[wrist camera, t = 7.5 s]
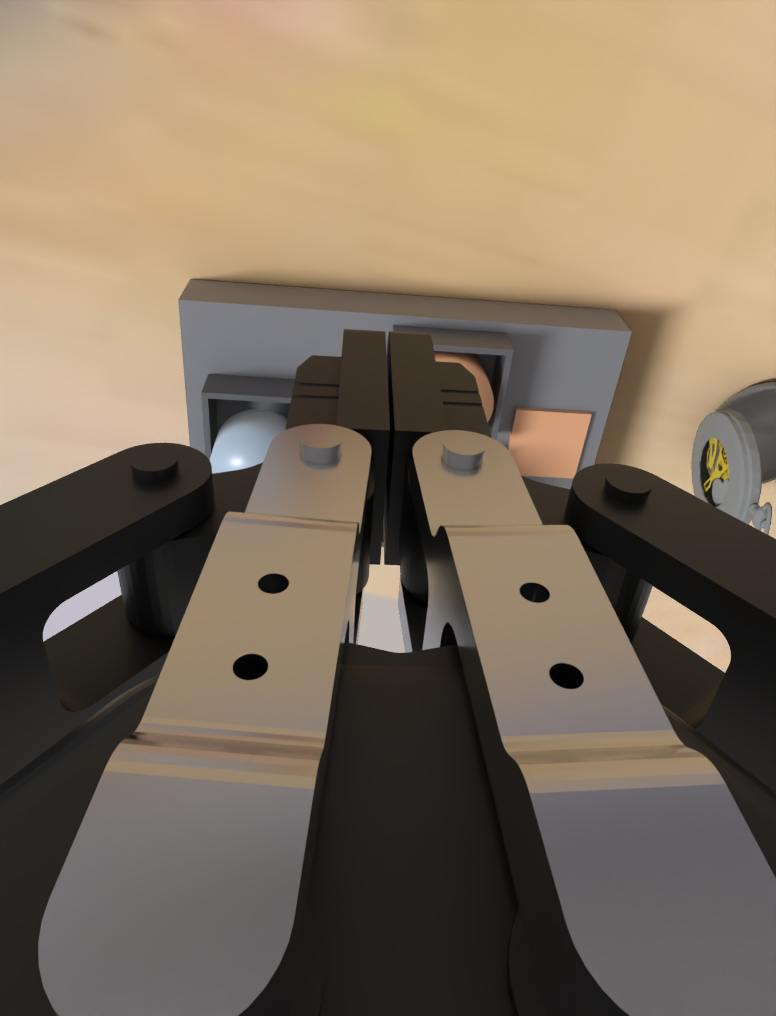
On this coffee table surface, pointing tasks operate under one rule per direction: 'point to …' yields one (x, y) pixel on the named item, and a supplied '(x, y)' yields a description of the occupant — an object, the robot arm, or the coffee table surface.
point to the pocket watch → (738, 455)
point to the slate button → (245, 439)
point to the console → (319, 331)
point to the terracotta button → (477, 370)
